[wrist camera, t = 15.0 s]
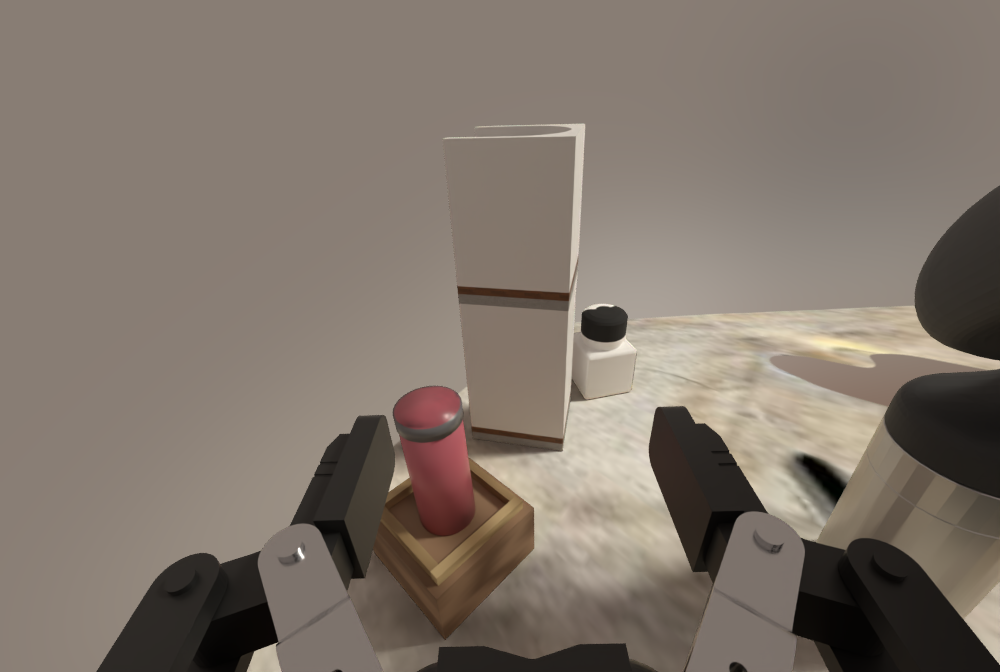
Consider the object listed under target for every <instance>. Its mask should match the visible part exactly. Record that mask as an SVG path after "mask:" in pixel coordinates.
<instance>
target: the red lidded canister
mask: <svg viewBox="0 0 1000 672" xmlns="http://www.w3.org/2000/svg"><path fill="white" fill-rule="evenodd" d="M393 417H394V421H395V425H396V429H397V432H398V433H399V436H400V440H401V444H402V448H403V452H404V456H405V460H406V464H407V468H408V472H409V476H410V480H411V484H412V488H413V492H414V497H415V501H416V505H417V509H418V513H419V517H420V521H421V524H422V525H423V527H424V528H425V529H426V530H427V531H428V532H430V533H432V534H434V535H439V536H448V535H453V534H456V533H458V532H460V531H462V530H463V529H464V528H466V527H467V526H468V525H469V524H470V522H471V521H472V519H473V517H474V514H475V500H474V493H473V486H472V479H471V473H470V466H469V459H468V452H467V445H466V438H465V431H464V424H463V408H462V401H461V398H460V396H459V395H458V393H457V392H455V391H454V390H452V389H450V388H447V387H443V386H427V387H422V388H418V389H415V390H413V391H411V392H409V393H407V394H405V395H404V396H403V397H401V398H400V399H399V400H398V402H397V403H396V404H395V406H394V408H393Z"/></svg>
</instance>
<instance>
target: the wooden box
mask: <svg viewBox="0 0 1000 672" xmlns="http://www.w3.org/2000/svg"><path fill="white" fill-rule="evenodd" d="M468 459H469V466H470V473H471V479H472V486H473V493H474V500H475V514H474V517H473V519H472V521H471V522H470V524H469V525H468V526H467V527H466V528H464V529H463V530H462V531H460V532H458V533H456V534H453V535H448V536H439V535H434V534H432V533H430V532H428V531H427V530H426V529H425V528H424V527H423V525H422V524H421V521H420V517H419V513H418V509H417V505H416V501H415V497H414V492H413V488H412V484H411V480H410V478H408V479H407V480H406V481H404V482H403V483H401V484H400V485H398V486H397V487H396V488H394V489H393V490H391V491H390V492H388V495H387V499H386V502H385V506H384V510H383V513H382V517H381V521H380V524H379V528H378V532H377V535H376V539H375V543H374V546H373V549H374V552H375V554H376V555H377V556H378V557H379V559H380V560H381V561H382V562H383V564H384V565H385V566H386V567H387V569H388V570H389V571H390V572H391V573H392V575H393V576H394V577H395V578H396V580H397V581H398V582H399V583H400V585H401V586H402V587H403V588H404V590H405V591H406V592H407V593H408V594H409V596H410V597H411V598H412V599H413V601H414V602H415V603H416V604H417V606H418V607H419V608H420V609H421V611H422V612H423V613H424V614H425V615H426V617H427V618H428V619H429V620H430V622H431V623H432V624H433V625H434V627H435V628H436V629H437V630H438V632H439V633H440V634H441V635H442V636H443V638H444V639H445V640H446V639H447V637H448V636H449V635H450V634H451V633H452V632H453V631H454V630H455V629H456V628H457V627H458V626H459V625H460V624H461V623H462V622H463V621H464V620H465V619H466V618H467V617H468V616H469V615H470V614H471V613H472V612H473V611H474V610H475V609H476V608H477V607H478V606H479V605H480V604H481V603H482V601H483V600H484V599H485V598H486V597H487V596H488V595H489V594H490V593H491V592H492V591H493V590H494V589H495V588H496V587H497V586H498V585H499V584H500V583H501V582H502V581H503V580H504V579H505V578H506V577H507V576H508V575H509V574H510V573H511V572H512V571H513V570H514V569H515V568H516V567H517V566H518V564H519V563H520V562H521V561H522V560H523V559H524V558H525V557H526V556H527V555H528V554H529V553H530V552H531V551H532V550H533V549H534V508H533V507H532V506H531V505H530V504H528V503H527V502H526V501H524V500H523V499H522V498H521V497H519V496H518V495H517V494H515V493H514V492H513V491H511V490H510V489H509V488H508V487H506V486H505V485H504V484H502V483H501V482H500V481H499V480H497V479H496V478H495V477H493V476H492V475H491V474H489V473H488V472H487V471H486V470H484V469H483V468H482V467H480V466H479V465H478V464H477V463H475V462H474V461H473V460H471V459H470V458H469V457H468Z"/></svg>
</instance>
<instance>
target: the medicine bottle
mask: <svg viewBox="0 0 1000 672" xmlns="http://www.w3.org/2000/svg"><path fill="white" fill-rule="evenodd" d="M627 319H628V316H627V314H626V312H625V311H624V310H623V309H621V308H619V307H617V306H614V305H610V304H596V305H592V306H589V307H587V308H586V309H585V310H584V311H583V312H582V321H581V332H576V333H574V337H573V357H572V376H571V378H572V380H573V381H574V383H575V384H576V386H577V387H578V389H579V390H580V392H581V394H582V395H583V397H584V398H585V399H586V400H588V399H594V398H599V397H604V396H609V395H615V394H620V393H625V392H630V391H631V390H632V383H633V376H634V369H635V362H636V355H637V350H636V349H635V348H634V347H633V346H632V345H631V344H630V343H629V342H628V341H627V340H626V339H625V335H626V327H627Z"/></svg>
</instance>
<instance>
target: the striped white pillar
mask: <svg viewBox="0 0 1000 672" xmlns="http://www.w3.org/2000/svg"><path fill="white" fill-rule="evenodd" d="M584 139H585V124H560V125H558V124H555V125H518V126H517V125H516V126H478V127H475V137H455V138H454V137H453V138H444V139H442V140H443V150H444V159H445V169H446V179H447V189H448V199H449V209H450V219H451V229H452V237H453V248H454V258H455V268H456V277H457V288H458V298H459V307H460V317H461V327H462V337H463V347H464V357H465V366H466V376H467V387H468V396H469V406H470V416H471V426H472V436H473V438H474V439H481V440H488V441H495V442H502V443H509V444H516V445H523V446H530V447H537V448H544V449H551V450H558V451H563V444H564V438H565V432H566V425H567V419H568V413H569V406H570V400H571V387H572V385H571V376H572V357H573V337H574V318H575V298H576V284H577V272H578V253H579V234H580V213H581V196H582V176H583V158H584Z"/></svg>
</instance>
